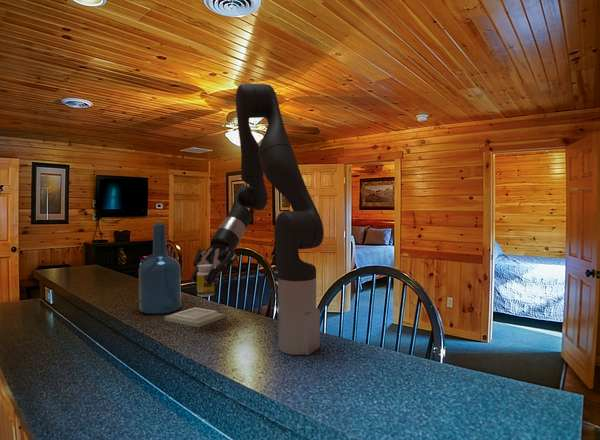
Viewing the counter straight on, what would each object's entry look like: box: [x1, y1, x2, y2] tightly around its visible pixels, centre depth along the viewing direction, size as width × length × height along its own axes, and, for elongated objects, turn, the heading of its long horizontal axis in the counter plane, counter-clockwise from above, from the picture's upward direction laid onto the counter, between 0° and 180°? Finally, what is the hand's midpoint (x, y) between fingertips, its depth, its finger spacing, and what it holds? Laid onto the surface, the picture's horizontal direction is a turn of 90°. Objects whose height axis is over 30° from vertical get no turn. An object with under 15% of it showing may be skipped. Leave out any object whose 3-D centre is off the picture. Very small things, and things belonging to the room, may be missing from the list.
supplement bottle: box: [196, 264, 215, 298], centre depth 108 cm, size 5×5×8 cm
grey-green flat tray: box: [164, 306, 225, 328], centre depth 119 cm, size 14×11×2 cm
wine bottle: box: [138, 220, 182, 315], centre depth 129 cm, size 14×13×30 cm
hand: (200, 281), depth 106 cm, fingers closed on supplement bottle, 4 cm apart
